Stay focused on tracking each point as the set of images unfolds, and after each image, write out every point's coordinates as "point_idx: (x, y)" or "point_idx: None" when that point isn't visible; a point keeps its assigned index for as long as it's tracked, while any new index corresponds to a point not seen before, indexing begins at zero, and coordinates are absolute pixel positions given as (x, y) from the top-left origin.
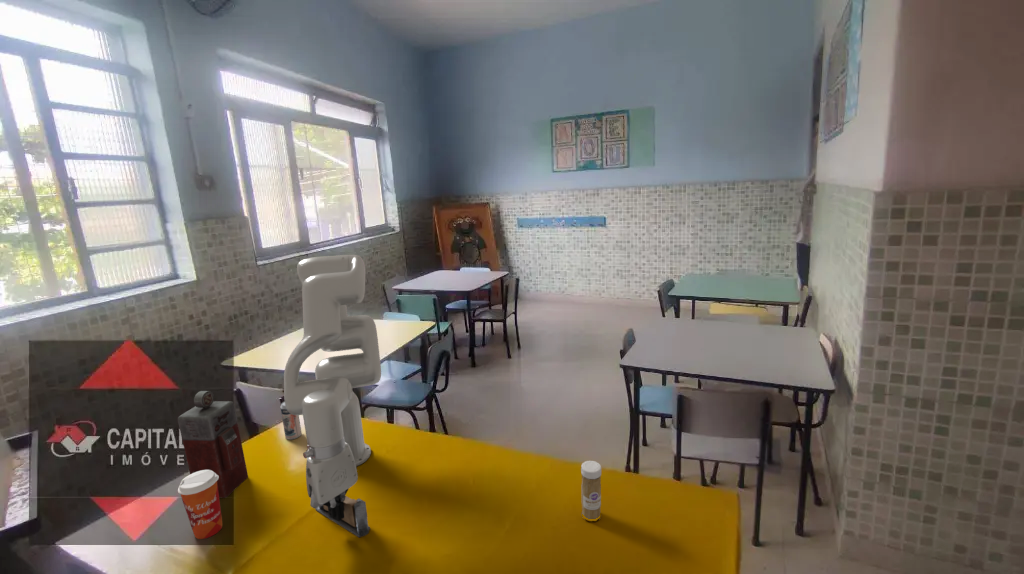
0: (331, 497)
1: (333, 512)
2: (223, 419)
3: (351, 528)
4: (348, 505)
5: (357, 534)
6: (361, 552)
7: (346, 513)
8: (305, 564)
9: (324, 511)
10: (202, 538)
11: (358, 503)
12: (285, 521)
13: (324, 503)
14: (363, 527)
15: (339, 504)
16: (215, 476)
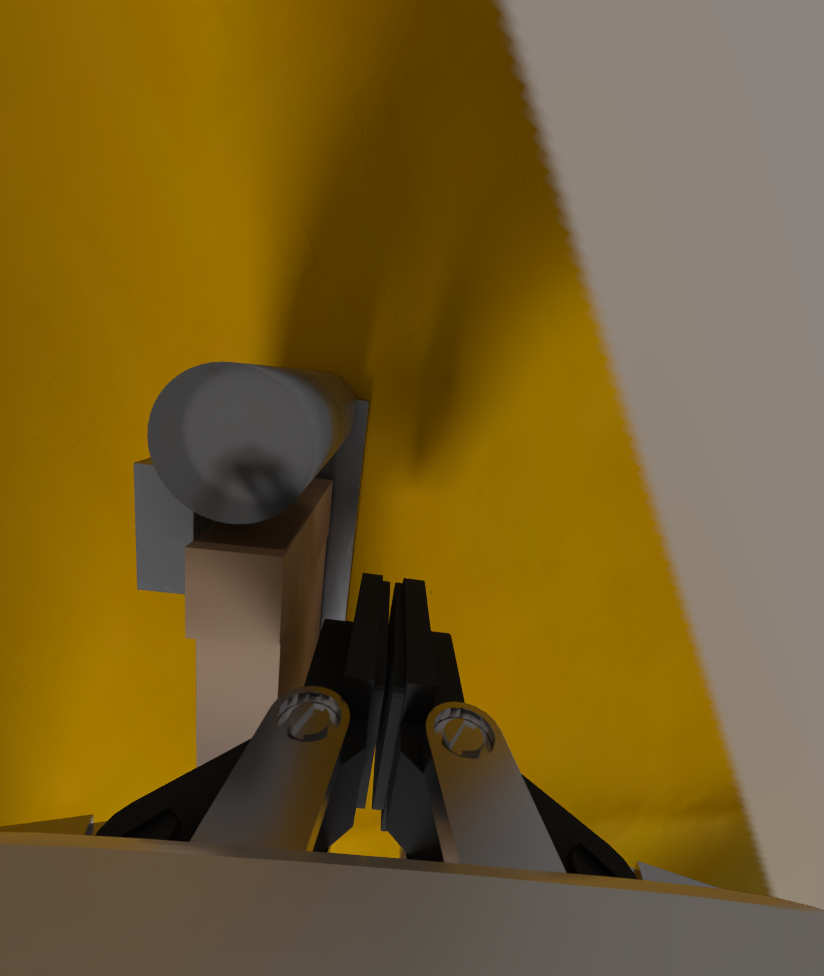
0: (724, 964)
1: (446, 668)
2: None
3: (343, 504)
4: (287, 609)
5: (366, 420)
6: (465, 280)
7: (309, 598)
8: (660, 546)
9: None
10: None
11: (224, 481)
12: None
13: (617, 872)
14: (328, 378)
15: (376, 688)
16: None
